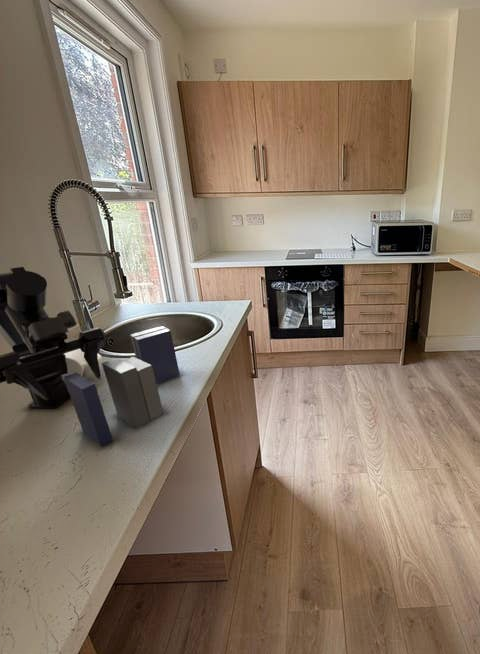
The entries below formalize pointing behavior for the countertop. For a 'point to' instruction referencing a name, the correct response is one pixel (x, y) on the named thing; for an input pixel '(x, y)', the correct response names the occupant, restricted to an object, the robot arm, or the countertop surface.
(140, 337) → the navy books
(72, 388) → the navy book
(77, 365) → the mug
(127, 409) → the grey books
